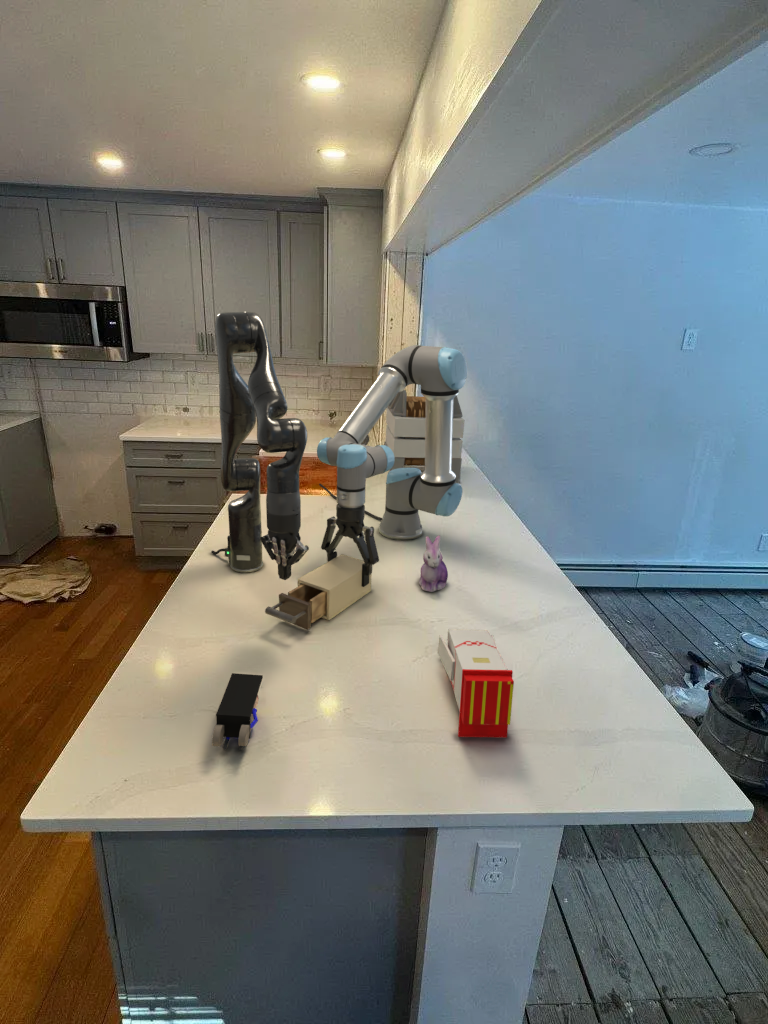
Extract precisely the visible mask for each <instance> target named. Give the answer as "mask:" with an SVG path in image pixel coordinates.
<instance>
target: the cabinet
mask: <svg viewBox="0 0 768 1024" xmlns="http://www.w3.org/2000/svg"><path fill="white" fill-rule="evenodd" d="M362 564H364V560H363V559H360V558H356V557H353V556H350V555H346V554H343V553H341V554H340V555H337V557H336V558H334V559H332V560H331V561H329V562H327V561H326V562H325V563H323V564H322V565H320V566H318V567H316V568H314V569H313V570H311V571H309V572H307V573H306V574H304V575H302V576H301V577H298V578H297V587H298V586H300V585H302V584H305V585H308V586H311V587H314V588H317V589H319V590H322V591H325V592H327V613H326V614H325V615H323V616H322V617H320V618H322V619H324V620H327V621H331V620H332V619H333V618H335V617H336V616H338V615H339V614H340V613H342V612H343V611H345V610H347V609H348V608H349V607H351V606H352V605H353V604H354V603H356V602H357V601H359V600H360V599H362V598H363V597H364V596H366V595H367V594H369V593H370V592H372V574H371V575H370V576H369V584H368V585H366V586H365V587H362Z"/></svg>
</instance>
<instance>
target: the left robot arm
mask: <svg viewBox="0 0 768 1024" xmlns="http://www.w3.org/2000/svg"><path fill="white" fill-rule="evenodd" d="M264 323H265V322H264V321H263V318H262V317H261V315H260V314H258V313H257V312H254V311H229V312H220V313H218V314H217V315H216V317H215V322H214V334H215V335H214V337H215V346H216V355H217V365H218V379H219V380H218V382H219V383H218V385H219V400H218V403H219V422H220V423H219V424H220V437H221V438H220V439H221V447H220V448H221V451H220V481H221V482H220V483H221V485H222V488H223V489H224V490H225V491H227V492H245V494H243V495H242V496H240V497H237V498H235V499H233V500H231V501H229V503H228V505H227V515H228V531H229V534H228V535H227V537H226V539H227V547H225V548H220V549H218V550H216V551H215V550H211V552H210V553H211V554H213V555H218V554H220V553H221V552H224V557H226V558H228V566H229V567H230V569H231V570H232V571H235V572H237V573H253V572H256V571H260V570H261V569H262V568H263V567H264V561H263V547H264V549H265V551H266V553H267V555H268V557H269V558H270V560H272V561H275V562H276V564H277V575H278V579H280V580H282V581H286V580H288V579H290V578H291V576H292V566H293V565H295V564H297V563H299V562H300V560H301V559H302V558H303V557H304V556H305V555H306V554H307V552H308V551H309V550H310V548H309V545H304V544H303V542H302V541H301V540H302V537H301V535H300V530H301V525H302V524H301V522H302V521H301V520H302V515H301V513H302V512H301V511H302V510H301V507H302V506H301V493H300V492H301V491H300V471H301V465H302V460H303V457H304V453H305V450H306V447H307V442H308V430H307V426H306V425H305V423H304V422H303V420H301V419H300V418H297V417H287V418H283V417H285V415H286V414H287V412H288V409H289V408H288V403H287V399H286V398H285V395H284V393H283V389H282V387H281V385H280V383H279V379H278V376H277V373H276V369H275V364H274V359H273V355H272V350H271V346H270V342H269V337H268V334H267V330H266V325H265V324H264ZM248 353H250V354H251V353H255V354H256V359H255V363H254V365H253V367H252V370H251V372H250V374H249V377H248V381H247V382H246V381H245V379H244V378H243V377H242V376H241V374H240V372H239V371H238V369H237V367H236V365H235V363H234V359H233V358H234V354H248ZM255 426H256V441H257V443H258V446H259V448H260V449H261V450H262V451H263V452H265V453H266V454H267V453H268V454H275V453H276V454H277V453H285V454H284V455H283V456H282V458H280V459H278V460H275V461H271V462H270V463H269V464H268V465H267V466H266V497H265V510H266V512H265V513H266V528H267V534H265V535H263V534H262V533H263V531H262V508H261V507H262V505H261V504H262V503H261V485H262V484H261V481H262V480H261V479H262V472H261V464H260V461H259V460H258V459H257V458H256V457H242V458H241V457H239V458H237V457H236V454H237V452H238V450H239V448H240V447H241V445H242V444H243V443H244V442H245V440H246V439H247V438H248V436H249V435H250V434H251V433H252V432H253V429H254V428H255ZM235 457H236V458H235ZM246 491H247V492H246Z"/></svg>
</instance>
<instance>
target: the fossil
mask: <svg viewBox="0 0 768 1024" xmlns="http://www.w3.org/2000/svg"><path fill="white" fill-rule="evenodd" d="M369 443H370V436H369V434H368V435H367V436H366V438H365V439H364V440H363V442H362V443H361V445H366V446H368V444H369Z"/></svg>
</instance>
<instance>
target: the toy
mask: <svg viewBox="0 0 768 1024" xmlns="http://www.w3.org/2000/svg"><path fill="white" fill-rule="evenodd" d="M446 640H447V643H446V641H445V639H444V636H443V635H442V634H439V637H438V646H437V656H438V657H439V659H440V661H441V663H442V666H443V668H444V670H445V672H446V674H447V677H448V679H449V681H450V684H451V687H452V690H453V693H454V697H455V701H456V705H457V708H458V711H459V714H458V715H459V716H458V730H457V731H458V732H457V737H458V738H508V731H509V726H510V725H511V717H512V707H513V697H514V696H513V695H514V684H515V680H514V679H513V673H514V671H513V670H512V669H508V667H507V665H506V662H505V661H504V659H503V658H502V655H501V653H500V651H499V649H498V647H497V643H496V639H495V637H494V635H493V634H491V632H490V631H489V629H467V628H466V629H465V628H463V629H461V628H460V629H459V628H448V630H447V639H446Z"/></svg>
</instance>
